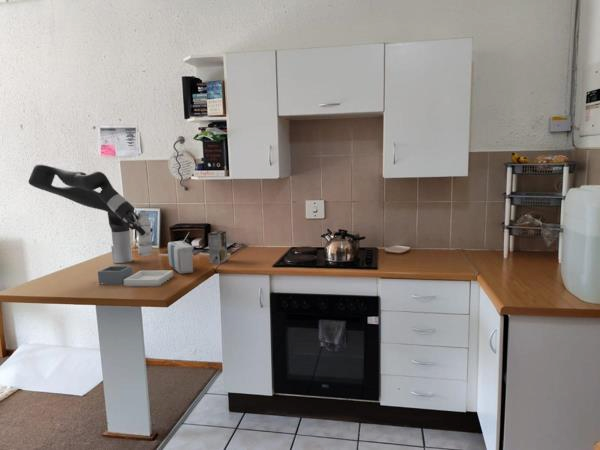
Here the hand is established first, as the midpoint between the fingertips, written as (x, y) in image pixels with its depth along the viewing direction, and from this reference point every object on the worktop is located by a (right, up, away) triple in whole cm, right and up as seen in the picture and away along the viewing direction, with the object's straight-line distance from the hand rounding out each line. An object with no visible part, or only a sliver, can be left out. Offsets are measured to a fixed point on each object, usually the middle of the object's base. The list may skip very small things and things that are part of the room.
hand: (147, 232), depth 192 cm
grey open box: (-16, -22, +6) cm, 28 cm away
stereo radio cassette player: (+9, -19, +24) cm, 32 cm away
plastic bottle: (-1, -10, +2) cm, 11 cm away
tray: (0, -22, +4) cm, 23 cm away
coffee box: (+24, -17, +39) cm, 49 cm away
